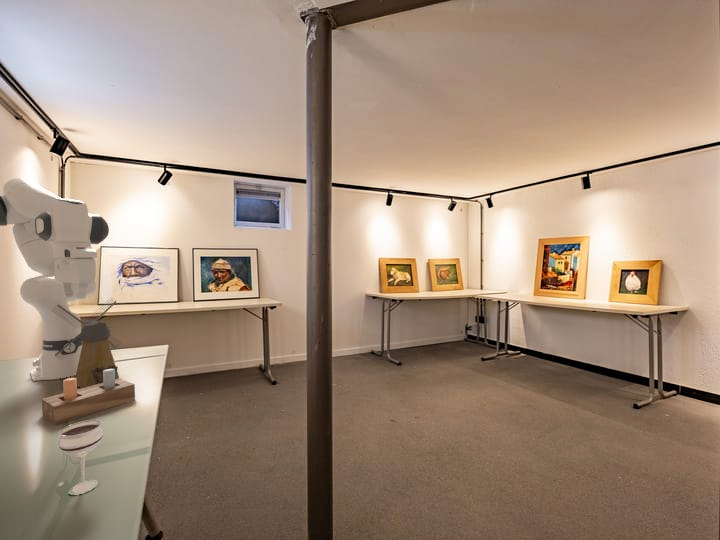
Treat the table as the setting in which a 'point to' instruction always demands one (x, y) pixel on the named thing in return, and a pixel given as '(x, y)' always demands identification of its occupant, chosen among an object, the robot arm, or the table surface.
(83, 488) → the wineglass
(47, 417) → the peg block
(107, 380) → the seated peg
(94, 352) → the windmill
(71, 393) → the peg
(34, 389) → the table surface
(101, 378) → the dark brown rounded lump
